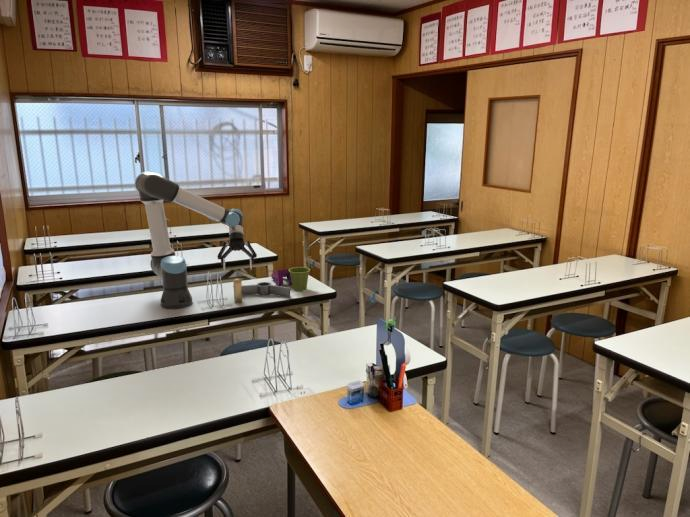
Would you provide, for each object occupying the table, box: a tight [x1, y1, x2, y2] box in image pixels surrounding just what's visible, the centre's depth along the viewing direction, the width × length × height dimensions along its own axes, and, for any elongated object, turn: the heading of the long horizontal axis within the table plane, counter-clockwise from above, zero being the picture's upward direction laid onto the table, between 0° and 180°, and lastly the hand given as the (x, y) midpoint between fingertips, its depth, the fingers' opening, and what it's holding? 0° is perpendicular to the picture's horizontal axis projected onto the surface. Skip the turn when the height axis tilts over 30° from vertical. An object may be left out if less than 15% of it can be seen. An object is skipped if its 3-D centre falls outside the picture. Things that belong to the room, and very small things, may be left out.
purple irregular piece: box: [271, 268, 293, 287], centre depth 286 cm, size 9×8×18 cm
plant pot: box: [288, 266, 311, 292], centre depth 273 cm, size 12×12×11 cm
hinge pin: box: [232, 278, 243, 304], centre depth 252 cm, size 4×4×12 cm
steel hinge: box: [242, 281, 291, 298], centre depth 266 cm, size 30×10×5 cm, turn 87°
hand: (237, 269), depth 260 cm, fingers open, 13 cm apart
